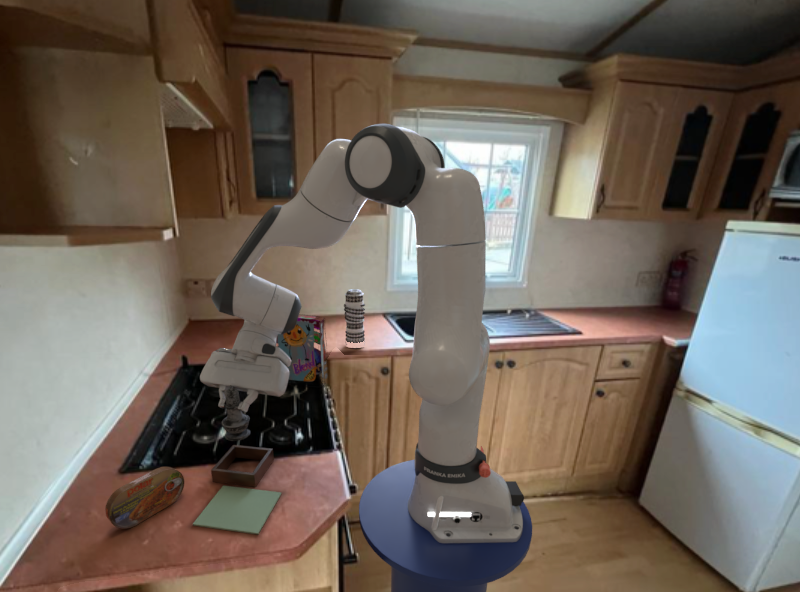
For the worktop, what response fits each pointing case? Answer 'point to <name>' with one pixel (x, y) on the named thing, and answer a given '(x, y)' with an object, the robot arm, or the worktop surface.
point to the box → (305, 349)
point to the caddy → (240, 477)
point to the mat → (238, 509)
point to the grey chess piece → (235, 417)
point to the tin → (144, 497)
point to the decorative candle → (354, 316)
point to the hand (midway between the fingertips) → (232, 409)
